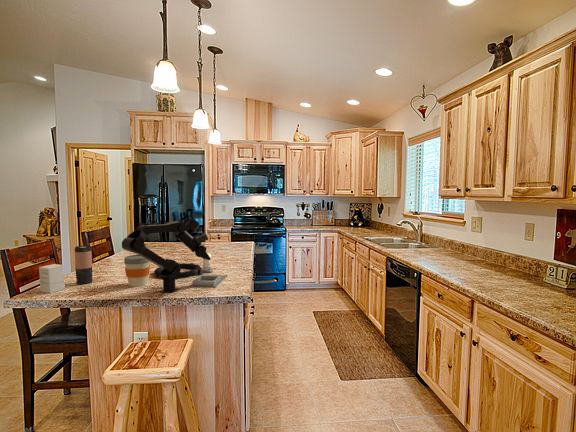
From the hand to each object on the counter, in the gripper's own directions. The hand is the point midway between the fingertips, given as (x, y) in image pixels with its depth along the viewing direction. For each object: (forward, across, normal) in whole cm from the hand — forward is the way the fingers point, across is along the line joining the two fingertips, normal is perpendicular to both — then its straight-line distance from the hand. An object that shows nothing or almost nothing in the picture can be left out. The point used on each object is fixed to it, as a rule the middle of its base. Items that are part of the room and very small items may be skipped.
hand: (209, 258), depth 170 cm
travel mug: (-34, +29, +53) cm, 69 cm away
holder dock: (+10, +3, +9) cm, 14 cm away
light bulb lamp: (+4, 0, +6) cm, 7 cm away
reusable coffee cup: (-15, +14, +34) cm, 40 cm away
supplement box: (-42, +20, +62) cm, 78 cm away
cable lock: (+2, +29, +18) cm, 34 cm away
